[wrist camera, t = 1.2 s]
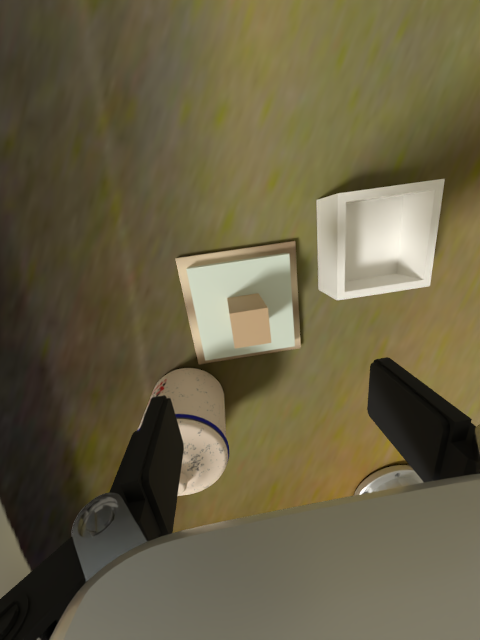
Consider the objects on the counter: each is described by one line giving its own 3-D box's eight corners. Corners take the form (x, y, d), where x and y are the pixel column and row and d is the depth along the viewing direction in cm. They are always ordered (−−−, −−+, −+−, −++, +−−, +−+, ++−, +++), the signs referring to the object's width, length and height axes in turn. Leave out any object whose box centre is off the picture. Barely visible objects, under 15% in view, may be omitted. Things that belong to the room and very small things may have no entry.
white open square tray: (397, 277, 28) (429, 286, 23) (318, 289, 27) (337, 300, 23) (405, 187, 24) (444, 178, 20) (316, 199, 24) (337, 193, 20)
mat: (299, 345, 29) (300, 348, 29) (198, 361, 29) (198, 364, 28) (293, 240, 25) (295, 241, 25) (176, 258, 25) (175, 258, 24)
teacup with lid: (152, 361, 28) (112, 442, 17) (230, 368, 30) (238, 448, 19) (149, 441, 32) (114, 549, 21) (218, 444, 34) (219, 548, 23)
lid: (291, 341, 28) (311, 370, 23) (205, 355, 28) (202, 387, 22) (285, 252, 25) (307, 259, 19) (187, 267, 25) (178, 278, 19)
